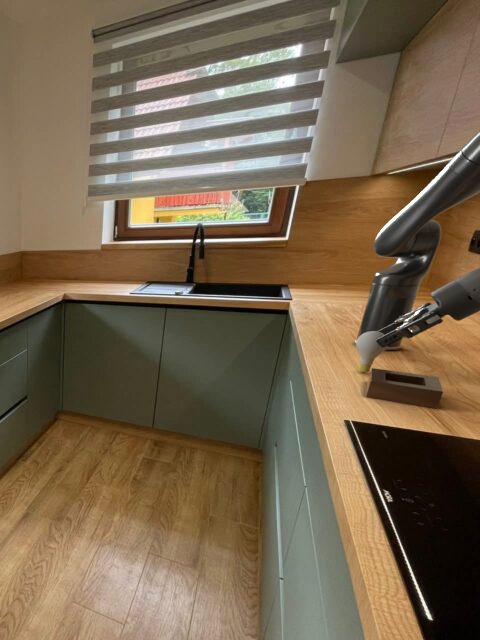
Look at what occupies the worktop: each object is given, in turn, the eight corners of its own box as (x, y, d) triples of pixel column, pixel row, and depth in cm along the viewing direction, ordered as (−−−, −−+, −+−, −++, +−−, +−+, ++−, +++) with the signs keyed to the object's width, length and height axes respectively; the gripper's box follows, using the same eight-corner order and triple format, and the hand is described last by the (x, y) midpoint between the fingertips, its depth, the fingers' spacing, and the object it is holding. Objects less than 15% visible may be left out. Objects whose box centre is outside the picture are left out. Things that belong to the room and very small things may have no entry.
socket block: (367, 382, 95) (371, 367, 94) (432, 392, 88) (438, 376, 87) (365, 396, 88) (370, 380, 87) (436, 408, 82) (443, 391, 80)
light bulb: (371, 369, 103) (384, 329, 99) (383, 377, 98) (397, 334, 94) (343, 368, 104) (355, 328, 101) (354, 375, 99) (366, 333, 96)
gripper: (453, 275, 92) (367, 321, 103) (462, 283, 82) (365, 333, 93) (481, 301, 90) (391, 346, 102) (493, 313, 81) (391, 360, 92)
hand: (379, 340), depth 97 cm, fingers open, 8 cm apart
